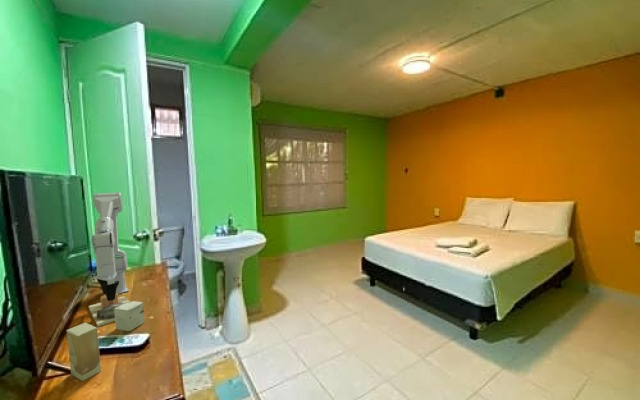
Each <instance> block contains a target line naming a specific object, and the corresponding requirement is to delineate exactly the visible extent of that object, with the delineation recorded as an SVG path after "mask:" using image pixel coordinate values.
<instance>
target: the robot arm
mask: <svg viewBox="0 0 640 400" xmlns="http://www.w3.org/2000/svg"><path fill="white" fill-rule="evenodd" d="M92 201H93V206H94V207H95V208H94V209H95V210H96V211H97V213H98V214H99V218H98V219H97V220H96V221H95V228H94V234H93V235H91V246H92V249H93V253H94V255H95V263H96V264H95V265H96V270H97V271H96V273H97V275H96V276H93V280H96V281H97V282H98V283H99V285H100V287H101V290H102V293H103V296H104V295H105V294H106V297H107V300H108V301H111V300H114V299H115V296H116V293H117V294H118V295H119V294H123V293H127V292H129V291H130V290H129V288H127V284H126V276H125V275H126V274H125V271H127V269H128V267H129V266H128V257H127V252H126V251H123V250H122V249H119V246H120V245H119V232H118V214H119V213H121V212H123V207H124V206H123V195H122V193H121V192H103V193H102V192H101V193H94V194H92Z"/></svg>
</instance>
